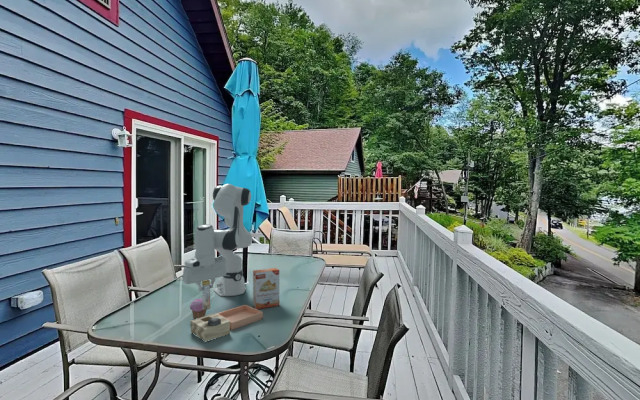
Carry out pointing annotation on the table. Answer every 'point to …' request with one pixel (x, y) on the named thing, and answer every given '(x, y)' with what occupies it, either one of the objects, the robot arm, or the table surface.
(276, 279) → the cracker box
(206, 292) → the pin
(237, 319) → the tray
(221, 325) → the block
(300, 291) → the table surface
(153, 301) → the table surface
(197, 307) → the cupcake
